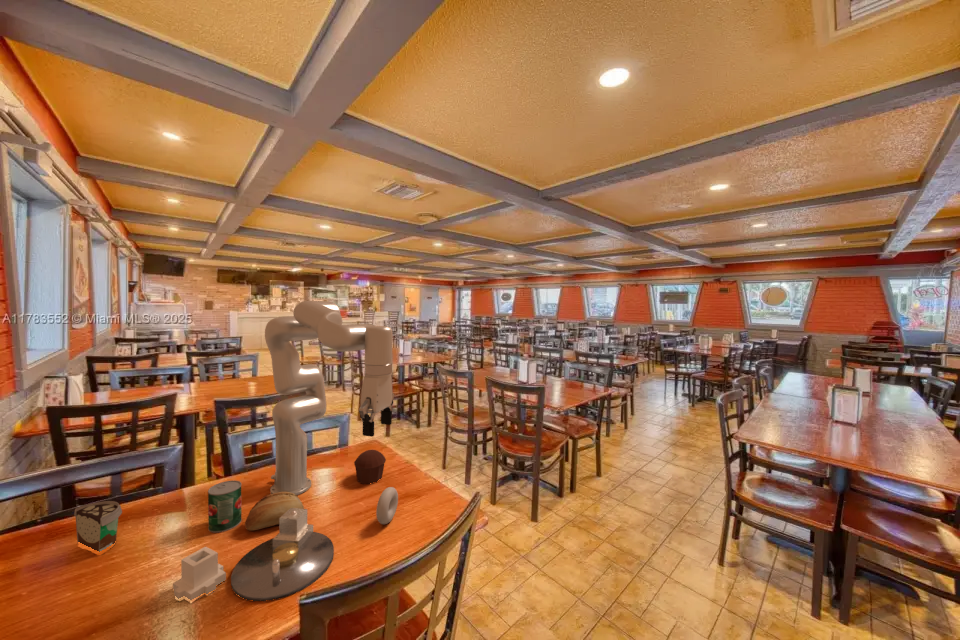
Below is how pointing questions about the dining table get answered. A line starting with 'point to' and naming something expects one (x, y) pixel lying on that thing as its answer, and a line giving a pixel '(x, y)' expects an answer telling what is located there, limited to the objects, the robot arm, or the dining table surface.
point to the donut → (387, 505)
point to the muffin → (369, 466)
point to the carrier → (283, 561)
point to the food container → (97, 524)
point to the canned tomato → (224, 506)
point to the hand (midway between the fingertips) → (377, 429)
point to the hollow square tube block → (199, 574)
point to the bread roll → (271, 510)
